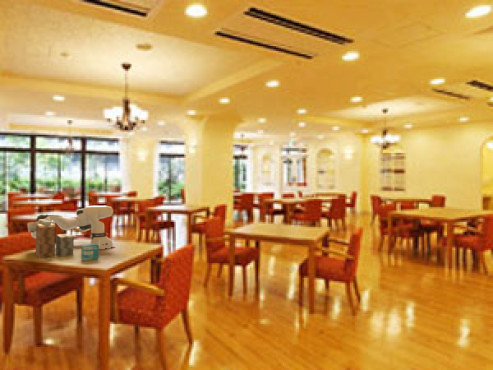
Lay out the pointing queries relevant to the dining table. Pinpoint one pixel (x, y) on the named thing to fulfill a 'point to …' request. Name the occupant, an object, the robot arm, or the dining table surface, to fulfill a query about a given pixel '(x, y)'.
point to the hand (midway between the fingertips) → (43, 221)
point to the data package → (89, 252)
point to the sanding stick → (45, 222)
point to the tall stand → (45, 240)
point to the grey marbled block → (64, 244)
